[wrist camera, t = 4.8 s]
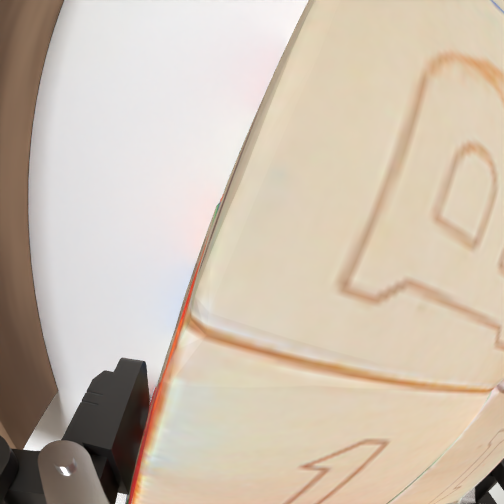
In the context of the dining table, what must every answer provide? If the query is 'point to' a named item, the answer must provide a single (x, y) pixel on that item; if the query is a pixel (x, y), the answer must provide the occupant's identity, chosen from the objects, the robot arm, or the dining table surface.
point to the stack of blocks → (349, 276)
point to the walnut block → (20, 220)
